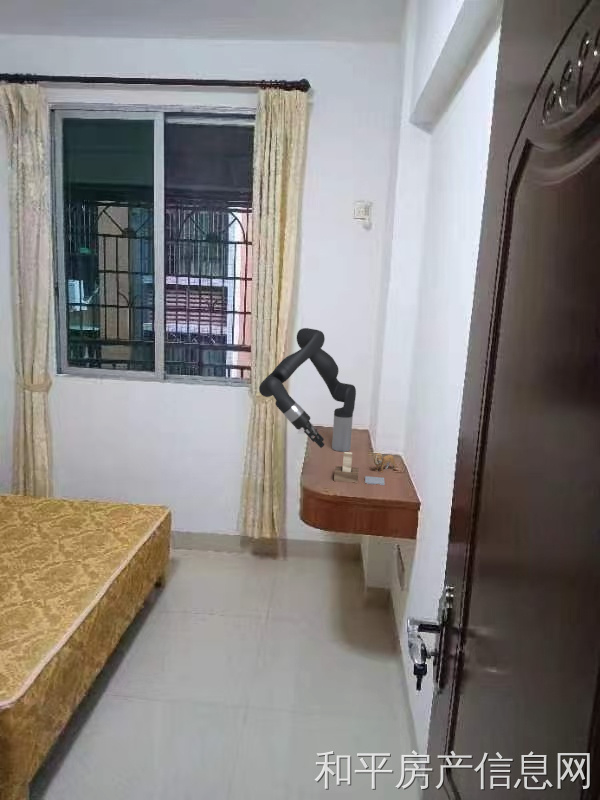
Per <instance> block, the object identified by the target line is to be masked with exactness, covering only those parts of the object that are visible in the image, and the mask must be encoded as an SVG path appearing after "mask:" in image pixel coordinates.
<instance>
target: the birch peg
mask: <svg viewBox="0 0 600 800" xmlns="http://www.w3.org/2000/svg"><path fill="white" fill-rule="evenodd" d="M342 456H343V460H342V466H343V470H342V472H351V467H352V463H353V462H352V461H353V451H352V452H351V451H343V455H342Z"/></svg>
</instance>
